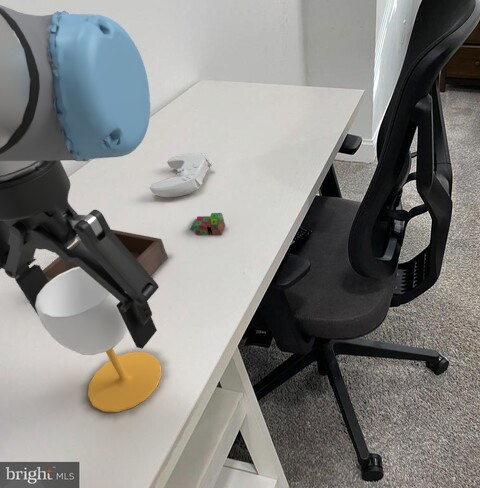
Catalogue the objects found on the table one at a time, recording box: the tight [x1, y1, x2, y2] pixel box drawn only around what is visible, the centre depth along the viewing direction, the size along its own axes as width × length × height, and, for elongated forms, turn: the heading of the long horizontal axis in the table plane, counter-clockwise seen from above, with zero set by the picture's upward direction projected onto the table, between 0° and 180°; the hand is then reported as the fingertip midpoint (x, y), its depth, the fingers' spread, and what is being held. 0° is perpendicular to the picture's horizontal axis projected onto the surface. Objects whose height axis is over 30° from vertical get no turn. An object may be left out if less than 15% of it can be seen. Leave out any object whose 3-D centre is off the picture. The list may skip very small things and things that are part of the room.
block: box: [190, 212, 226, 236], centre depth 85 cm, size 6×4×3 cm
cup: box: [35, 267, 162, 413], centre depth 56 cm, size 9×9×16 cm
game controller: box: [149, 152, 214, 198], centre depth 99 cm, size 14×4×10 cm
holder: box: [42, 228, 169, 281], centre depth 76 cm, size 14×14×4 cm
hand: (98, 325), depth 55 cm, fingers open, 13 cm apart
